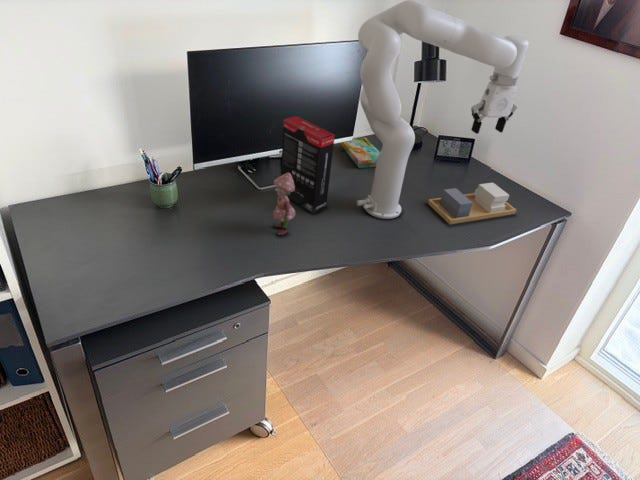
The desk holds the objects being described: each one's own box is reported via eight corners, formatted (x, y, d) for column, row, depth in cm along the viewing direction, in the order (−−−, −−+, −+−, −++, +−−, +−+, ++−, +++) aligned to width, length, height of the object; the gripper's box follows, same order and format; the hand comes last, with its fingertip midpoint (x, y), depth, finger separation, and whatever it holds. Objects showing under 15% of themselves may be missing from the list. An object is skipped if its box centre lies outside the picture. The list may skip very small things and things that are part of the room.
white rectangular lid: (493, 202, 169) (495, 197, 167) (477, 189, 175) (478, 184, 174) (507, 200, 171) (509, 195, 170) (491, 187, 177) (493, 182, 176)
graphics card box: (327, 208, 165) (337, 132, 150) (313, 215, 161) (321, 137, 145) (292, 188, 174) (297, 114, 158) (277, 194, 170) (281, 118, 154)
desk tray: (449, 226, 163) (450, 220, 162) (427, 205, 174) (428, 199, 172) (514, 215, 173) (516, 210, 172) (490, 196, 183) (492, 190, 182)
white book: (489, 213, 171) (491, 208, 170) (474, 200, 178) (475, 195, 177) (503, 211, 173) (505, 205, 172) (488, 198, 180) (489, 193, 179)
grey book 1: (458, 212, 164) (460, 204, 162) (441, 197, 171) (443, 189, 170) (470, 210, 166) (473, 202, 164) (453, 195, 173) (455, 187, 171)
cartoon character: (298, 239, 150) (303, 180, 138) (275, 241, 147) (278, 182, 136) (289, 220, 157) (293, 164, 146) (267, 222, 155) (270, 165, 143)
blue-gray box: (456, 219, 166) (458, 212, 164) (439, 204, 173) (441, 197, 171) (468, 217, 167) (470, 210, 166) (451, 202, 175) (453, 195, 173)
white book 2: (490, 207, 170) (492, 202, 169) (473, 194, 177) (475, 189, 175) (504, 204, 173) (506, 199, 171) (487, 192, 179) (488, 186, 178)
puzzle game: (358, 158, 188) (339, 136, 203) (356, 169, 190) (338, 147, 206) (386, 156, 191) (365, 135, 206) (384, 167, 194) (364, 145, 209)
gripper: (488, 83, 147) (471, 137, 156) (533, 83, 153) (514, 135, 162) (473, 75, 152) (458, 127, 162) (517, 75, 158) (500, 126, 168)
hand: (486, 131), depth 162 cm, fingers open, 9 cm apart
